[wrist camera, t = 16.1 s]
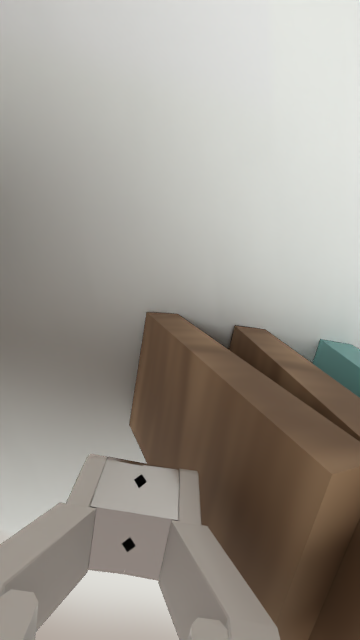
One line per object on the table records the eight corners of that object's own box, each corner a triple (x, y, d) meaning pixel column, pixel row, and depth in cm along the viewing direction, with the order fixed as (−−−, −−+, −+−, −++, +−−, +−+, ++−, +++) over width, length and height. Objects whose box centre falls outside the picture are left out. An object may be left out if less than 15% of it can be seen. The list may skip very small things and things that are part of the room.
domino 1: (129, 424, 15) (251, 690, 7) (146, 312, 14) (332, 474, 5) (158, 420, 16) (300, 657, 8) (177, 314, 15) (385, 459, 6)
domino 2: (209, 432, 16) (331, 729, 6) (234, 325, 14) (443, 511, 5) (237, 433, 16) (392, 718, 7) (265, 329, 15) (516, 510, 5)
